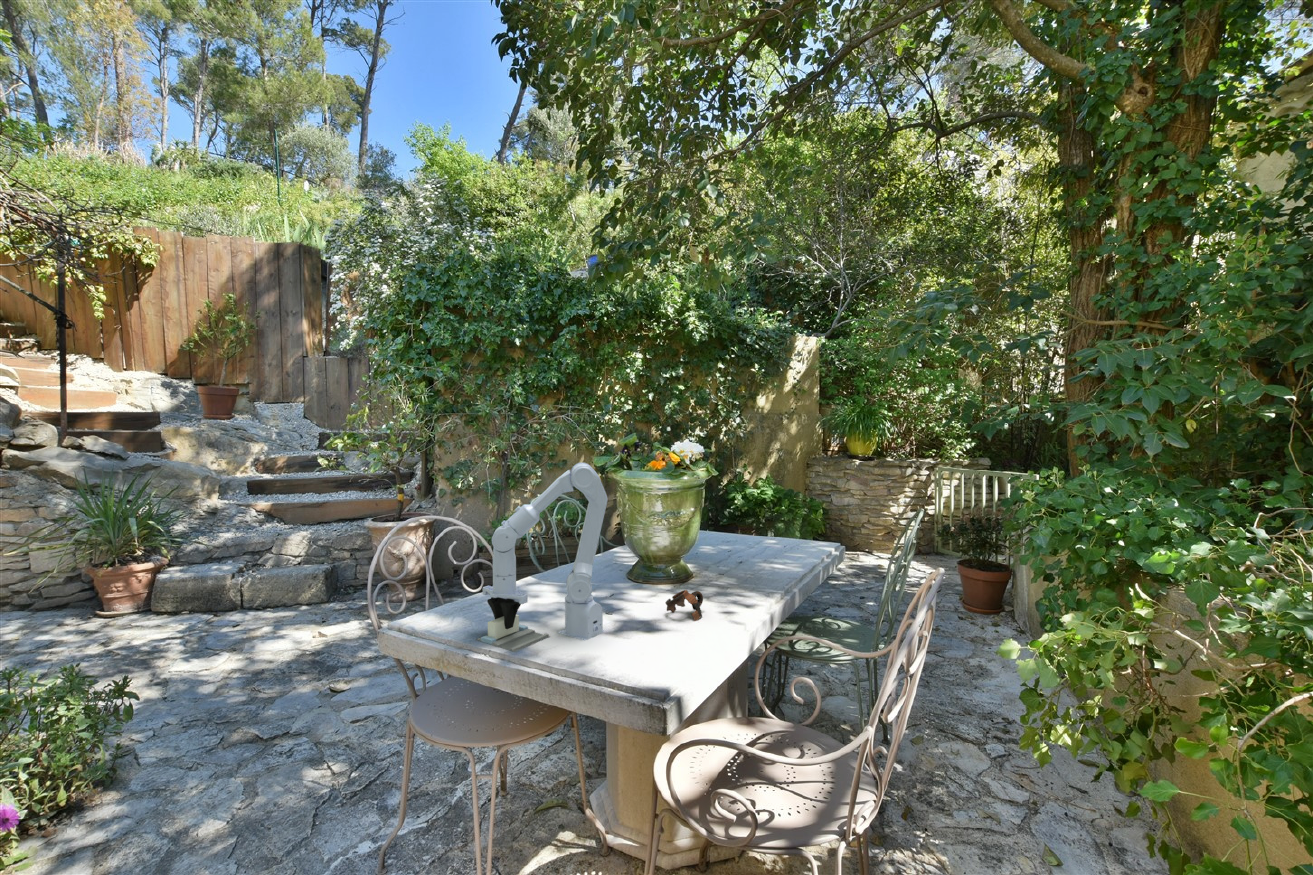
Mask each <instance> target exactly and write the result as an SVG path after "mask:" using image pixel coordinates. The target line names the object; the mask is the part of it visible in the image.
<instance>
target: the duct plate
mask: <svg viewBox="0 0 1313 875" xmlns="http://www.w3.org/2000/svg"><path fill="white" fill-rule="evenodd" d="M548 638H551V636H550V634H549V633H544V634H542V633H538V632H536V631H535V629H531V628H529V626H528V625H524V624H520V623H519V631H516V632H514V633H511V634H509V635H506V636H504V637H501V638H499V639H495V638H492V637H488V634H486V635H483V636H481V637H479V638H477V639H475V641H478V642H481V643H485V644H488V645H491V646H494V647H497V648H500V649H504V650H506V651H510V652H513V653H516V652H518V651H521V650H523V649H526V648H528V647H530V646H532V645H534V644H536V643H539V642H542V641H544V640H546V639H548Z"/></svg>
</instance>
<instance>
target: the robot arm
mask: <svg viewBox="0 0 1313 875" xmlns="http://www.w3.org/2000/svg"><path fill="white" fill-rule="evenodd" d="M574 487H575V488H576V489H577V490H579V491H580V492H581V493H582V494H583V495H584V497H585V498H586V500H587V501H588V504H587V508H586V512H585V516H584V522H583V526H582V530H581V534H580V537H579V538H580V539H579V542H578V547H577V552H576V556H575V560H574V563H573V565H572V569H571V571H570V572H569V573H568V574H567V575H566V576H567V577H566V580H565V583H566V588H567V589H566V595H565V596H564V629H562V630H560V631H559V630H558V632H557V634H560V635H563V636H565V637H570V638H575V639H578V640H581V641H588V640H589V639H591V638H594V637H596V636H598V635H600V634H602V633H604V632H605V629H604V630H603V628H604V624H603V620H604V618H603V617H604V616H603V614H604V613H603V612H604V611H603V608H602V605H601V604H600V603H599V602H596V601H595V600H594V597H593V586H592V576H593V566H594V560H595V557H596V552H597V549H598V544H599V541H600V540H599V538H600V536H601V530H602V527H603V523H604V522H603V521H604V518H605V513H606V509H607V505H608V501H609V500H608V499H609V498H608V495H607V492H606V489H605V488H604V485H603V482H602V481H601V477H600V475H599V474H598V472H596V470H595V469H594V468H593V467H592V466H591V465H590V464H589V463H587V462H577V463H576V464H574V465H573V466H572V467H571V469H568V470H567V471H565V472H563V473H562V474H561V475H560V476H559V477H557V478H556V479H555V480H554V481H553V482H552V483H551V484H550V485H549V486H548V487H547V488H546V490H544V491H543V492H542V493H541V494H540V495H539V496H537V498H536V499H535V500H534V501H533V502H532V503H530V504H522V506H520V505H518V506H517V507H516V508H515V510H514V511H515V512H514V513H513V514H512V515H511V516H509V517H508V519H507V520H502V521H501V526H498V527H497V528H496V529H495V531H494V532H493V535H492V537H491V544H492V547H493V550H492V553H493V555H492V586H491V585H485V586H483V587H482V595H483V596H486V595H488V596H490V598H488V599H487V602H486V603H487V604H488V606H489V608H490V609H491V612H492V614H493V617H494V620H495V619H498V618H500V617H503V616H504V625H505V629H509V628H512V627H513V625H514V621H515V617H516V615H518V612H519V609H520V607H521V605H524V604H527V603H528V601H529V600H528V597H529V596H528V594H525V593H523V592H522V591H520V590H518V589H517V556H516V554H515V552H516V543H517V540H518V539H521V538H523V536H525V534H527V533H528V532H529V531H530V530H532V528H533V527H534V526H535V525H537V523H539V522H540V513H542V512H543V511H544V510H545V509H546V508H547V507H549V506H550V505H551V504H552V503H553V502H554V501H555V500H557V499H558V498H559V497H560V496H561V495H562V494H566V493H571V492H574Z"/></svg>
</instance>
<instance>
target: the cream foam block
mask: <svg viewBox="0 0 1313 875" xmlns="http://www.w3.org/2000/svg"><path fill="white" fill-rule="evenodd" d="M519 624H520V615H519V614H516V617H515V621H514V625H513V627H512V628H509V629H505V625H504V616H503V617H500V618H498V619H495V618H494V619H493V620H489V621H487V635H488V637H492V638H495V639H499V638H501V637H504V636H506V635H509V634H511V633H514V632H516V631H519Z"/></svg>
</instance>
